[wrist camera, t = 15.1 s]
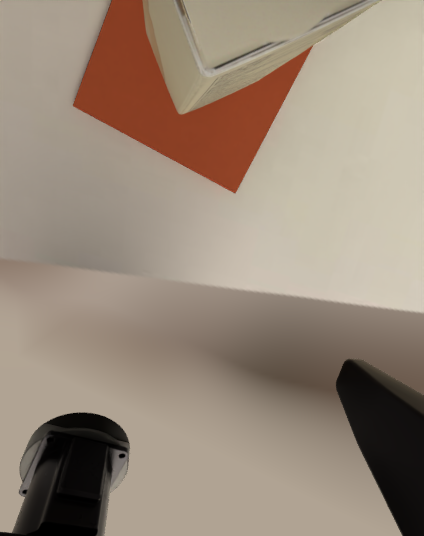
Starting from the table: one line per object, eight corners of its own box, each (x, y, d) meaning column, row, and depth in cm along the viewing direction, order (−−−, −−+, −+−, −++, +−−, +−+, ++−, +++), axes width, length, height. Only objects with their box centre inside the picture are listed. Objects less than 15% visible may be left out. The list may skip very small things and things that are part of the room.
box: (234, -10, 16) (373, -279, 6) (261, 81, 18) (406, -8, 8) (139, 32, 16) (114, -169, 6) (174, 119, 18) (203, 81, 8)
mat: (233, 192, 20) (235, 193, 20) (74, 106, 17) (72, 105, 17) (330, 9, 18) (333, 6, 17) (162, -130, 15) (162, -137, 14)
